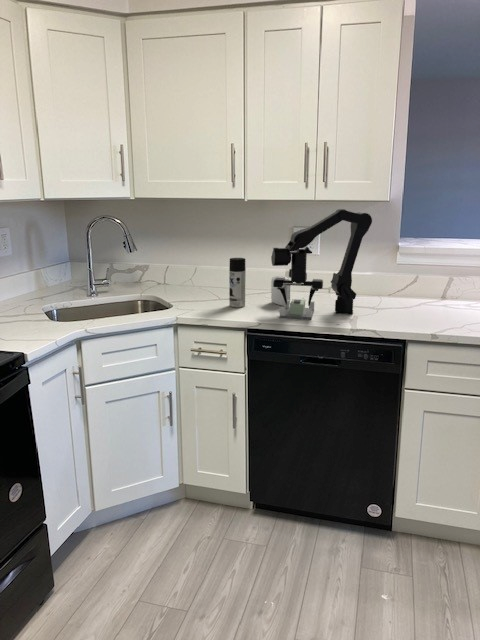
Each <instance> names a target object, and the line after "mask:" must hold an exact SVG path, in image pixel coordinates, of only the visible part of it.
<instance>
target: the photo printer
mask: <svg viewBox="0 0 480 640" xmlns="http://www.w3.org/2000/svg"><path fill="white" fill-rule="evenodd" d="M276 278H285V280H289V281H291V279H289V278H288V277H287V276H285V275H282V274H277V275H273V277H272V278H271V281H270V285H271V287H270V289H271V290H270V293H271V295H270V299H271V303H273V304H275V305H279V306H281V307H284V298H283V295H282V293H281V291H280V290H279V289H277V288H278V287H273V282H274V280H275V279H276ZM285 286H287V300H290V301H291V285H285Z"/></svg>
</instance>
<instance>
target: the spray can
mask: <svg viewBox="0 0 480 640" xmlns="http://www.w3.org/2000/svg"><path fill="white" fill-rule="evenodd" d="M246 267H247V266H246V258H245V257H230V258H229V267H228V268H229V283H228V284H229V285H228V286H229V288H228V289H229V293H228V295H229V303H228V304H229V307H231V308H235V309H240V308H245V306H246Z"/></svg>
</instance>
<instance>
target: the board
mask: <svg viewBox="0 0 480 640" xmlns="http://www.w3.org/2000/svg"><path fill="white" fill-rule="evenodd" d="M305 308H306V299H297V298H295V299H291V300H290V314H297V315H303V313H304V311H305Z"/></svg>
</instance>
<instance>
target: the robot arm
mask: <svg viewBox="0 0 480 640" xmlns="http://www.w3.org/2000/svg"><path fill="white" fill-rule="evenodd" d="M342 221H344V222H347V223H350V237H349V240H348V243H347V246H346V249H345V253H344V256H343V259H342V263H341V266H340V269H339V270H338V272H336V273H335V272H333V274H332V279H331V280H330V284H331V288H332V291H333V292H335V296H336V299H335V305H334V311H335V314H336V315H337V314H339V315H354V310H353V309H354V300H355V299H356V297H357V293H356V292H355V291H354V290H353V289H352V282H353V278H352V275H353V274H352V273H353V270H354V266H355V263H356V261H357V257H358V253H359V250H360V247H361V244H362V241H363V239H364V236H365V235H366V234H367V233H368V232H369V229H370V227H371V225H372V224H373V218H372V215H370V214H369V213H368V212H360V211H359V212H353V211H350V210H349V211H348V210H346V209H343V208H338V209H336V210H335V211H333V213H331V214H329V215H327V216H326V217H324V218H323V219H321V220H319V221H318V222H316V223H315V224H313V225H311V226H308V227H306V228H303V229H300V230H296V231H295V232H293V233H292V234H291V236H290V240H289V242H288V243H287V244H286V246H285V247H272V253H271V265H272V266H273V267H275V266H277V267H282V266H285V267H286V266H289V265H290V263H291V265H290V267H291V268H289V270H288V277H289V278H290V279H289V280H290V281H289V280H285V278H276V279H275V280H274V282H273V287H278V288H277V289H279V290H280V291H281V293H282V295H283V298H284V301H285V303H286V305H287V286H285V285H290V286H298V287H310V290H309V295H308V302H307V305H308V307H309V305H310V302H311V301H313V296H314V294H315V293H316V292H317V291H319V290H322V289H324V288H323V287H324V280H323V279H320V278H319V279H318V278H313V279H312V280H311V281H310V280H309V281H308V279H307V278H308V276H307V275H308V274H307V256H308V254H313V251H312V250H310V248H309V247H308V245H309V244H311V243H312V242H313V241H314V240H315V238H317V237H318V236H320V235H321V234H323V233H324V232H326V231H327V230H329V229H330V228H333V226H336V225H337V224H339V223H340V222H342Z"/></svg>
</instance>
